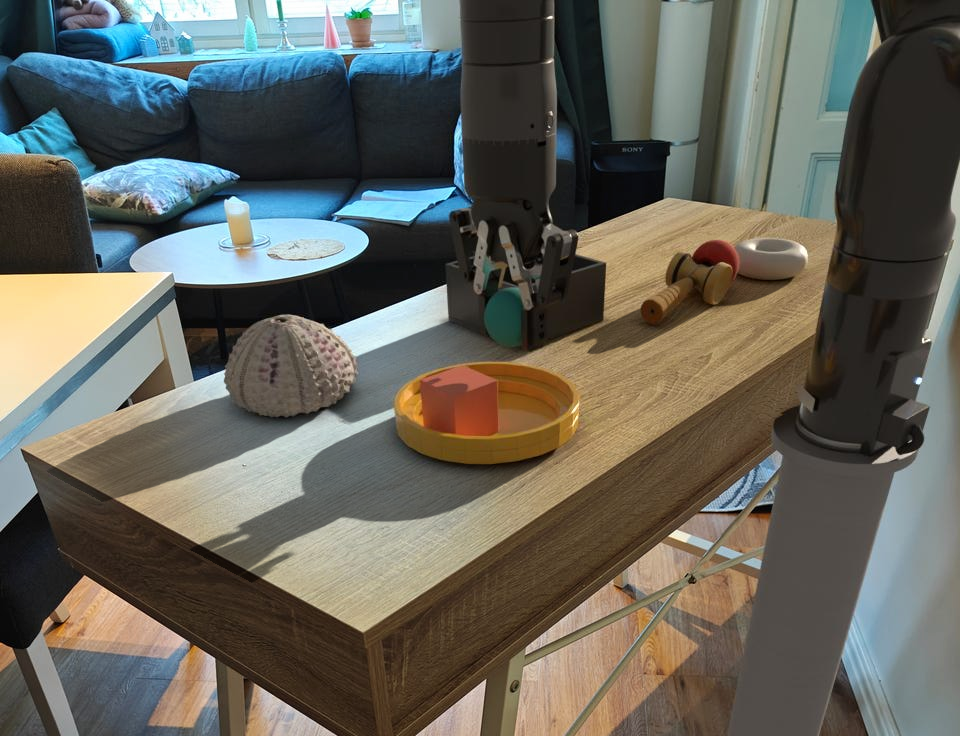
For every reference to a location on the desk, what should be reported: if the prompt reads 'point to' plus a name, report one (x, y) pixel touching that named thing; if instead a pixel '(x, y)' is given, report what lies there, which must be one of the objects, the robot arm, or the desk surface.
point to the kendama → (694, 278)
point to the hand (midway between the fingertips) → (512, 340)
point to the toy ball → (505, 317)
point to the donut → (770, 258)
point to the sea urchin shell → (289, 367)
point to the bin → (562, 316)
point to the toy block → (460, 402)
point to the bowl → (521, 416)
